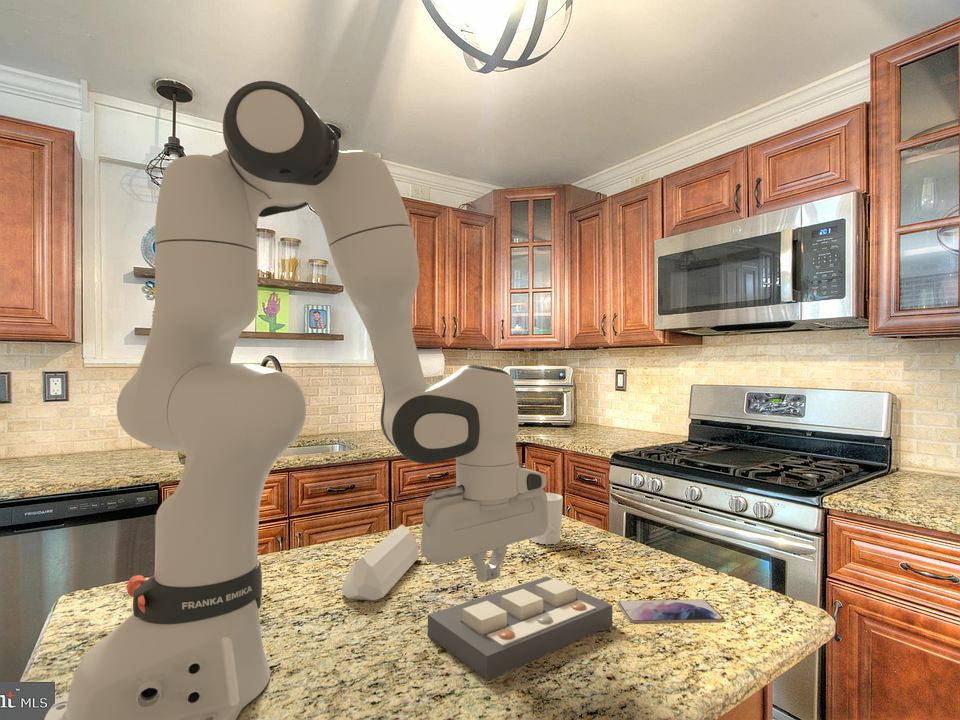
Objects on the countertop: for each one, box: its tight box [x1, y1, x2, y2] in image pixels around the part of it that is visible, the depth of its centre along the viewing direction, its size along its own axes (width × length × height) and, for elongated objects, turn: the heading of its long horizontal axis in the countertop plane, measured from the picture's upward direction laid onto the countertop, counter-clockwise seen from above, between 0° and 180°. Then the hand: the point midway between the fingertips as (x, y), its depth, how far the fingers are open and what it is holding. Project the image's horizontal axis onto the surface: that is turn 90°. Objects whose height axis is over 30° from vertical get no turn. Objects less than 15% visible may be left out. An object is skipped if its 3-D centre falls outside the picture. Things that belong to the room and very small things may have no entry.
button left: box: [463, 601, 507, 635], centre depth 74 cm, size 4×4×3 cm
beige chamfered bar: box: [341, 524, 420, 601], centre depth 98 cm, size 7×7×24 cm
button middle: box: [501, 589, 543, 621], centre depth 78 cm, size 4×4×3 cm
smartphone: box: [617, 598, 725, 625], centre depth 84 cm, size 7×1×15 cm
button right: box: [536, 578, 577, 607], centre depth 82 cm, size 4×4×3 cm
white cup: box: [529, 492, 564, 545], centre depth 120 cm, size 8×8×10 cm
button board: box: [427, 576, 613, 681], centre depth 78 cm, size 24×14×3 cm, turn 127°
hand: (488, 578), depth 74 cm, fingers closed
